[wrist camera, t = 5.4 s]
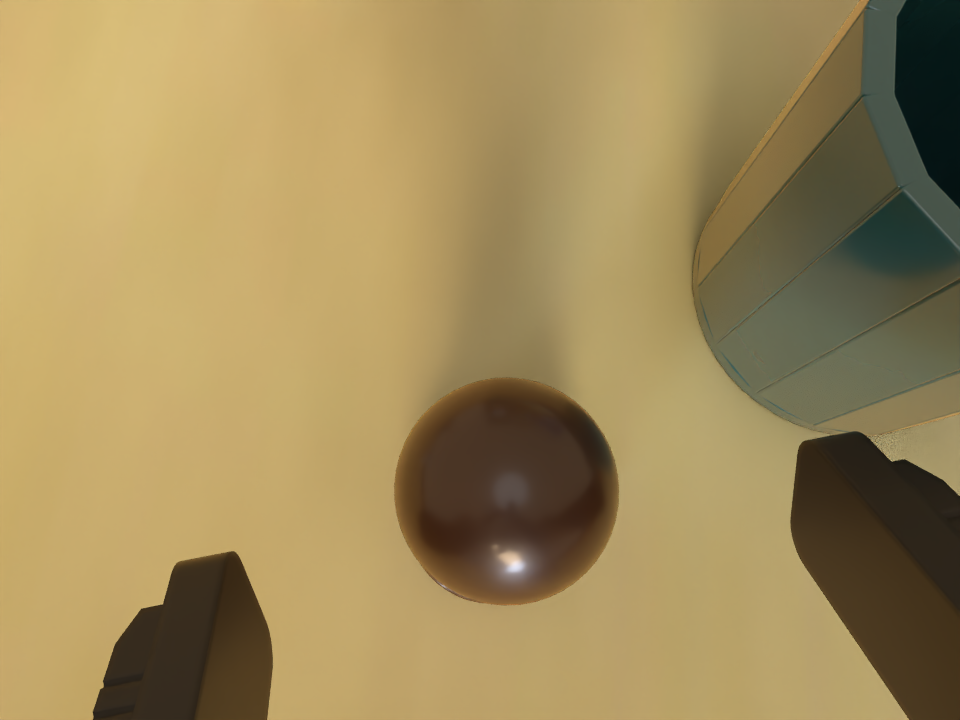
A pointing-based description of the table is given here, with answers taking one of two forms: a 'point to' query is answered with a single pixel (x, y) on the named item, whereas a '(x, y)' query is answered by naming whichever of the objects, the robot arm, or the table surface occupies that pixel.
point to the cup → (848, 234)
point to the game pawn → (506, 491)
